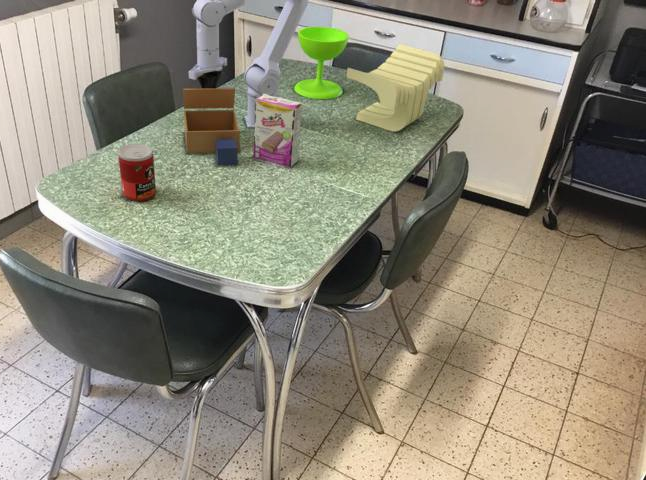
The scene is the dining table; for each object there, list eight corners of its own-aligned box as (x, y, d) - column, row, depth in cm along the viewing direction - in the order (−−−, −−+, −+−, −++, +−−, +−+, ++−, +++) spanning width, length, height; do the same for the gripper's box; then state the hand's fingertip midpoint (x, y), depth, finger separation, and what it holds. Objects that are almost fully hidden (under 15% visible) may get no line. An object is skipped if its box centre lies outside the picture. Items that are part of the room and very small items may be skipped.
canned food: (140, 205, 147) (137, 162, 140) (115, 194, 150) (110, 151, 143) (163, 192, 152) (160, 149, 145) (137, 182, 155) (133, 140, 149)
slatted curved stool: (388, 144, 180) (398, 82, 169) (340, 127, 187) (347, 67, 177) (434, 113, 200) (446, 56, 189) (390, 99, 207) (399, 43, 196)
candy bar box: (252, 158, 168) (254, 98, 159) (260, 151, 172) (263, 92, 162) (290, 169, 165) (295, 108, 155) (298, 161, 169) (303, 101, 159)
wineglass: (348, 98, 206) (355, 41, 195) (300, 100, 203) (304, 42, 192) (335, 80, 218) (340, 26, 208) (289, 81, 215) (292, 26, 204)
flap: (184, 108, 175) (183, 107, 175) (233, 108, 177) (233, 107, 177) (183, 89, 169) (183, 88, 169) (235, 89, 171) (234, 88, 172)
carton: (184, 132, 179) (183, 110, 175) (233, 131, 181) (234, 109, 178) (187, 154, 168) (186, 131, 164) (239, 153, 171) (239, 130, 167)
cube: (235, 157, 169) (235, 139, 166) (237, 165, 165) (237, 148, 162) (216, 157, 168) (215, 139, 165) (217, 166, 164) (217, 148, 161)
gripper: (203, 58, 160) (204, 109, 168) (236, 44, 170) (235, 93, 178) (181, 52, 163) (183, 103, 171) (214, 38, 173) (215, 87, 181)
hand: (208, 98), depth 175 cm, fingers closed
